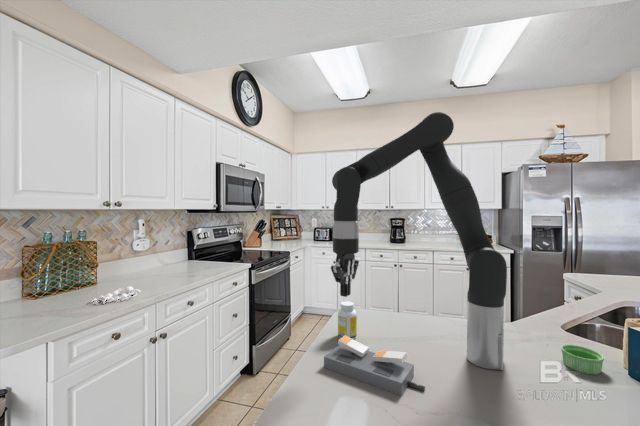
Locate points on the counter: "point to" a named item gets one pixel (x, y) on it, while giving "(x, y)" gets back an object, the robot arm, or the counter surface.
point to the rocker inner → (390, 356)
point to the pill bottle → (347, 320)
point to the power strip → (372, 370)
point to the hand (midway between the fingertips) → (345, 295)
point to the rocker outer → (353, 346)
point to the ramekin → (582, 359)
